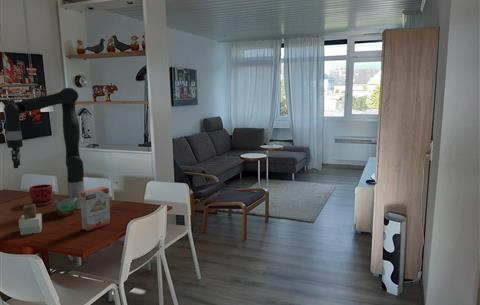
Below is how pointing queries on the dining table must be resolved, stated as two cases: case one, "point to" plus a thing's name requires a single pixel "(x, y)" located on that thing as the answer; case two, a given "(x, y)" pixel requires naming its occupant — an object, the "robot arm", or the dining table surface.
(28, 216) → the walnut block
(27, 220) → the tower top
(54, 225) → the dining table surface
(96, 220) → the cracker box
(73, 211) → the food container
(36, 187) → the plant pot
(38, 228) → the tower base
